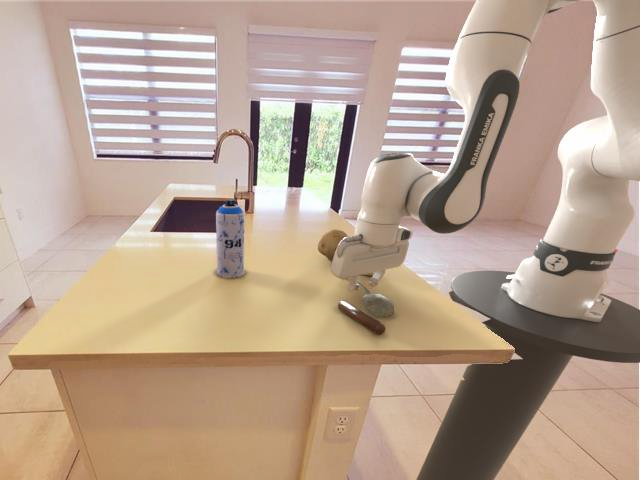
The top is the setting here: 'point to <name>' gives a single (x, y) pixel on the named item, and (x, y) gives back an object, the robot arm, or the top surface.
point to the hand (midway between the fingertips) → (363, 287)
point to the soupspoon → (377, 303)
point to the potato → (330, 242)
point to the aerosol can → (230, 240)
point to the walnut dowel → (362, 317)
